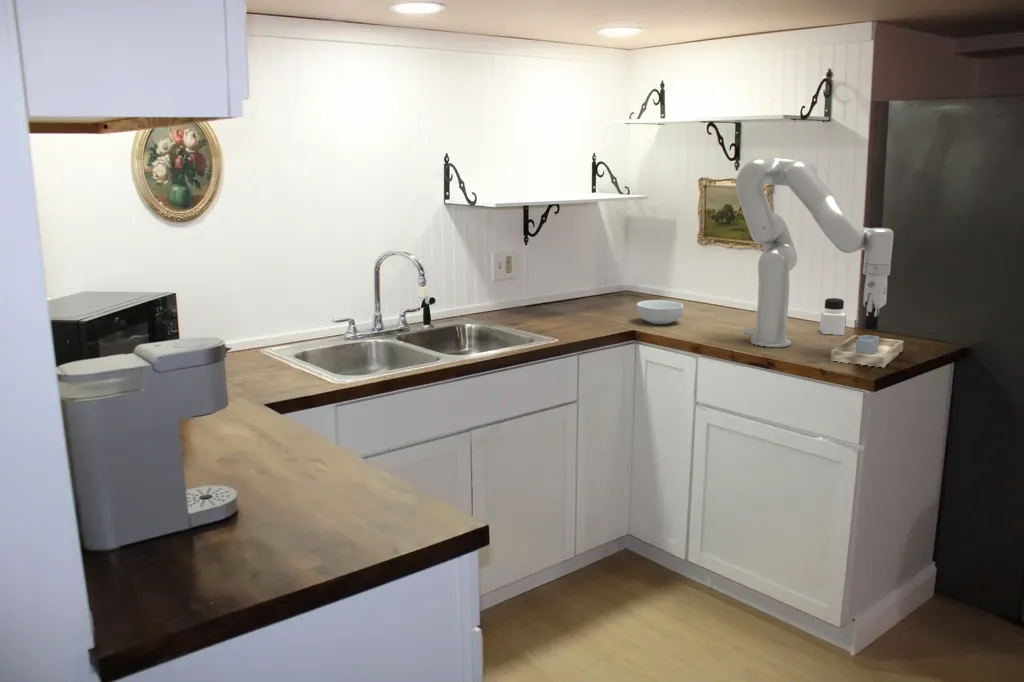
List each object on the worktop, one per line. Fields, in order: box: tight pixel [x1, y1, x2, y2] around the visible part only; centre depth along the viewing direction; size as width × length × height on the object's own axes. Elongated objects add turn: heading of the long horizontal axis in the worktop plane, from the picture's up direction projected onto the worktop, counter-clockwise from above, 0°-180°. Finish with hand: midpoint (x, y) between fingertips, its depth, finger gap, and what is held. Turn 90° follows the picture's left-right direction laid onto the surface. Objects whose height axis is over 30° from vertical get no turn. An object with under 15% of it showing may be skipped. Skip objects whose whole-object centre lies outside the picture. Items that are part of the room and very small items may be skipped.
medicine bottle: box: [819, 297, 847, 336], centre depth 288 cm, size 7×7×12 cm
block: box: [855, 334, 880, 355], centre depth 255 cm, size 4×4×9 cm
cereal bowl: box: [636, 299, 684, 325], centre depth 307 cm, size 17×17×7 cm
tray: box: [829, 334, 904, 369], centre depth 256 cm, size 15×26×3 cm, turn 145°
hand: (871, 328), depth 257 cm, fingers closed
